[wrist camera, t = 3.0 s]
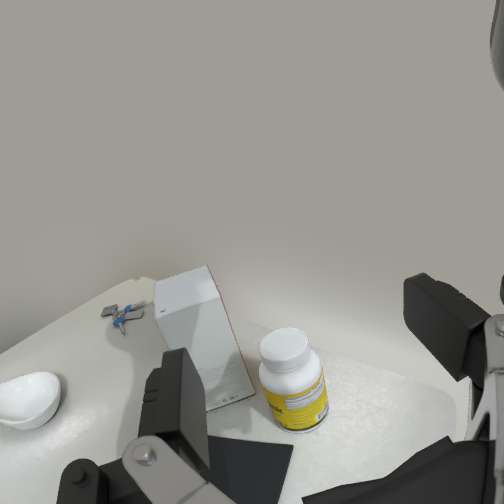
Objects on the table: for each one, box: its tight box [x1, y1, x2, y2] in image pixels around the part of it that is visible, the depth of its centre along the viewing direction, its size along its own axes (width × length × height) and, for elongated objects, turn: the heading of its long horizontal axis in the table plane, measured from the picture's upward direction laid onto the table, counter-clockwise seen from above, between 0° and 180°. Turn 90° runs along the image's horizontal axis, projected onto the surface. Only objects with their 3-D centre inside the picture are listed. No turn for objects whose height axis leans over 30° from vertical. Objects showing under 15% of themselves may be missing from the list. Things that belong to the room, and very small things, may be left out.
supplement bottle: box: [259, 328, 329, 433], centre depth 26 cm, size 5×5×10 cm
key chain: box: [101, 300, 146, 334], centre depth 56 cm, size 14×8×1 cm, turn 47°
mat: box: [199, 435, 293, 504], centre depth 21 cm, size 16×14×1 cm
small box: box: [153, 265, 256, 411], centre depth 33 cm, size 8×6×13 cm
